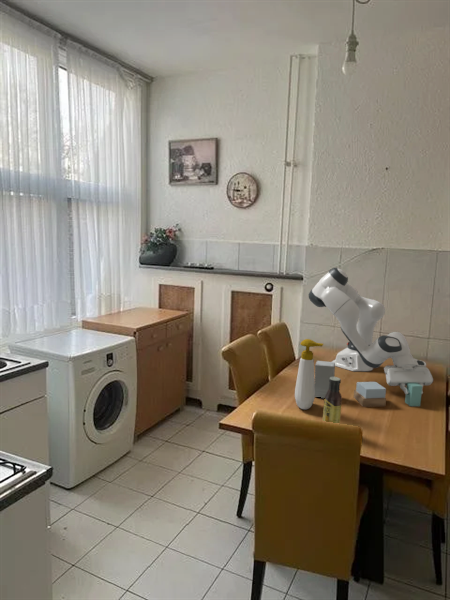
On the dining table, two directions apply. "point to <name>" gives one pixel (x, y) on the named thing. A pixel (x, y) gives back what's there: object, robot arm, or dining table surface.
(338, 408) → the sauce bottle
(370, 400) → the walnut block
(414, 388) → the teal block
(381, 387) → the grey block
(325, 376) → the skincare box
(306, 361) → the soap bottle
